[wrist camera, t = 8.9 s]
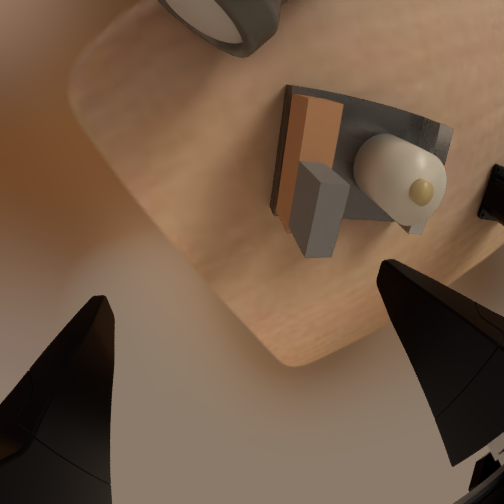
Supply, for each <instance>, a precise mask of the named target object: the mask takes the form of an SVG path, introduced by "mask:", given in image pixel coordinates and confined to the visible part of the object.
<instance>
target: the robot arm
mask: <svg viewBox="0 0 504 504" xmlns="http://www.w3.org/2000/svg"><path fill="white" fill-rule="evenodd" d="M478 217H479V218H481V219H486V220H493V221H498V222H499V223H500V224H502V225H503V226H504V167H502V166H500V165H498V164H495V165H494V167H493V170H492V174H491V177H490V180H489V183H488V186H487V189H486V192H485V195H484V198H483V201H482V204H481V207H480V209H479V212H478ZM376 282H377V287H378V289H379V292H380V294H381V297H382V299H383V302H384V304H385V307H386V309H387V312H388V315H389V317H390V320H391V322H392V324H393V326H394V328H395V330H396V332H397V334H398V336H399V338H400V340H401V342H402V345H403V347H404V348H405V351H406V353H407V355H408V357H409V360H410V362H411V364H412V366H413V368H414V371H415V373H416V375H417V377H418V380H419V382H420V384H421V387H422V389H423V391H424V393H425V396H426V398H427V401H428V403H429V406H430V408H431V411H432V413H433V416H434V418H435V421H436V424H437V426H438V429H439V432H440V434H441V437H442V440H443V443H444V446H445V448H446V451H447V454H448V457H449V460H450V463H451V465H452V467H454V466H455V465H457V464H459V463H460V462H462V461H463V460H465V459H466V458H468V457H470V456H471V455H473V454H474V453H476V452H477V451H479V450H480V449H481V448H483V447H484V446H486V445H487V446H488V448H489V450H490V452H488V453H487V454H486V455H485V456H483V457H482V458H481V459H479V460H478V461H477V462H476V464H475V468H474V471H473V475H472V479H471V482H470V486H469V489H468V490H469V493H468V494H466V495H465V496H463V497H462V498H461V499H459V500H458V501H456V502H455V503H453V504H504V317H503V316H501V315H499V314H497V313H495V312H492V311H491V310H489V309H487V308H485V307H484V306H482V305H480V304H478V303H477V302H473V300H471V299H469V298H467V297H466V296H464V295H462V294H460V293H458V292H456V291H455V290H453V289H450V288H449V287H447V286H445V285H443V284H441V283H440V282H438V281H436V280H434V279H432V278H430V277H428V276H426V275H424V274H422V273H420V272H418V271H416V270H414V269H412V268H410V267H409V266H407V265H405V264H403V263H401V262H399V261H397V260H394V259H388V260H384V261H382V263H381V266H380V269H379V273H378V276H377V281H376ZM114 325H115V319H114V314H113V312H112V309H111V307H110V305H109V302H108V300H107V298H106V296H104V295H100V296H93V297H92V298H91V299H90V300H89V301H88V302H87V303H86V304H85V305H84V306H83V307H82V308H81V309H80V310H79V312H78V313H77V314H76V315H75V316H74V317H73V318H72V319H71V321H70V322H69V323H68V324H67V325H66V326H65V327H64V328H63V330H62V331H61V332H60V333H59V334H58V335H57V336H56V338H55V339H54V340H53V341H52V342H51V343H50V345H49V346H48V347H47V348H46V349H45V351H44V352H43V353H42V354H41V355H40V357H39V358H38V359H37V360H36V361H35V363H34V364H33V365H32V366H31V368H30V369H29V371H27V373H26V374H25V375H24V376H23V378H22V379H21V380H20V381H19V383H18V384H17V385H16V386H15V388H14V389H13V390H12V391H11V393H9V395H8V396H7V397H6V398H5V400H4V401H3V402H2V403H1V404H0V504H112V497H111V486H110V484H111V479H110V422H111V421H110V420H111V401H112V400H111V399H112V386H113V374H114V330H115V326H114Z"/></svg>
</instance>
